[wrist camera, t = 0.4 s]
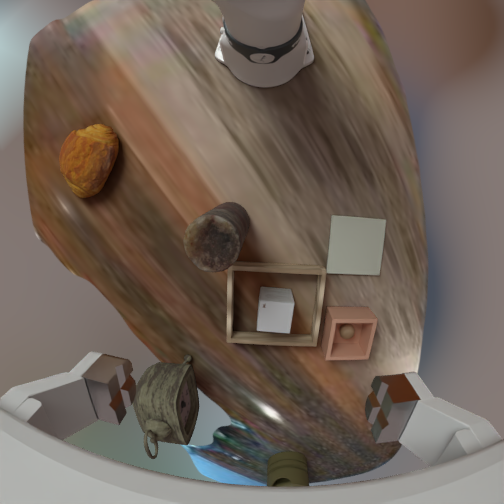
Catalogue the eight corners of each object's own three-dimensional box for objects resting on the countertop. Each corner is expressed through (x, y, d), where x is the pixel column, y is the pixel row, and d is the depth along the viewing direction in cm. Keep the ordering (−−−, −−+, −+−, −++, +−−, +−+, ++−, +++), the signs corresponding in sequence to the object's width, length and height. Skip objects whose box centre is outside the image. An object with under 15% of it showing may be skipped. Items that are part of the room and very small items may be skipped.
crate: (230, 260, 56) (227, 265, 52) (323, 265, 55) (326, 270, 51) (229, 333, 59) (226, 342, 56) (314, 337, 58) (316, 346, 55)
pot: (326, 306, 57) (332, 319, 51) (368, 306, 56) (377, 319, 50) (320, 344, 59) (325, 360, 53) (360, 344, 58) (368, 359, 52)
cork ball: (339, 320, 56) (342, 327, 53) (353, 320, 56) (357, 327, 53) (336, 334, 57) (339, 342, 54) (351, 334, 57) (355, 341, 54)
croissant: (137, 143, 54) (123, 133, 46) (98, 208, 55) (80, 207, 47) (91, 116, 52) (75, 105, 44) (56, 176, 53) (36, 172, 45)
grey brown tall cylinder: (253, 239, 54) (245, 268, 35) (215, 246, 55) (187, 278, 36) (245, 198, 53) (232, 205, 33) (207, 206, 54) (173, 217, 34)
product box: (257, 314, 58) (255, 331, 51) (260, 285, 56) (259, 299, 49) (287, 317, 58) (290, 334, 50) (292, 288, 56) (295, 303, 49)
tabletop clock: (203, 398, 63) (179, 478, 39) (168, 395, 64) (134, 469, 40) (195, 349, 60) (160, 429, 36) (157, 346, 61) (109, 419, 37)
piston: (259, 489, 56) (300, 479, 55) (261, 457, 68) (298, 447, 66) (277, 504, 58) (315, 495, 56) (277, 474, 70) (311, 465, 68)
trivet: (331, 214, 53) (331, 215, 52) (385, 219, 52) (386, 219, 52) (325, 272, 55) (326, 273, 54) (378, 274, 55) (379, 275, 54)
